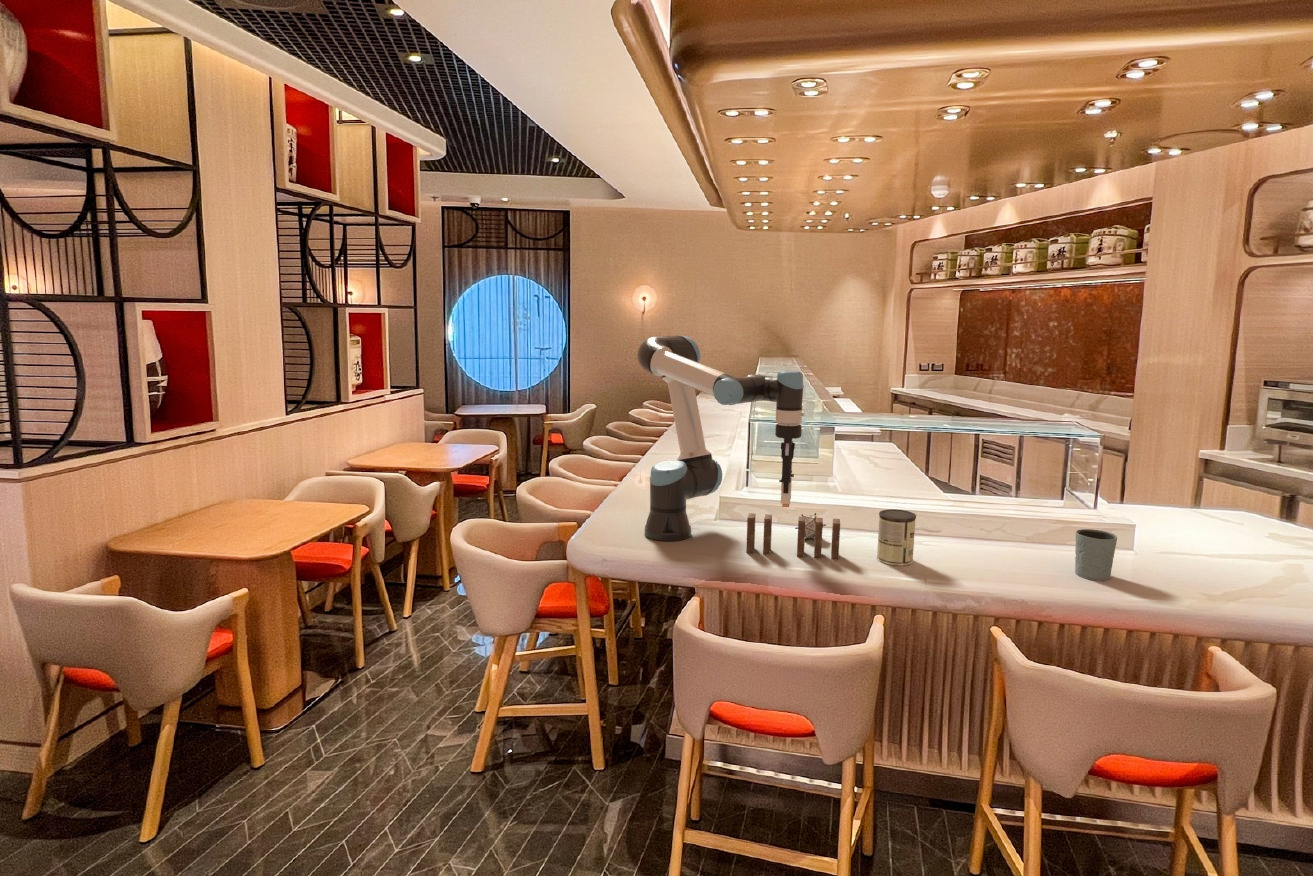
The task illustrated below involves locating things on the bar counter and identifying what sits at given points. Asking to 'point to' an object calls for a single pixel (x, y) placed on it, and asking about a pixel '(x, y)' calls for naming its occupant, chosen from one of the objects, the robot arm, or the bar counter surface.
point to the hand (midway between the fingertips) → (785, 500)
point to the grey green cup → (1094, 554)
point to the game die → (810, 526)
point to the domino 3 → (785, 504)
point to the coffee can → (896, 537)
